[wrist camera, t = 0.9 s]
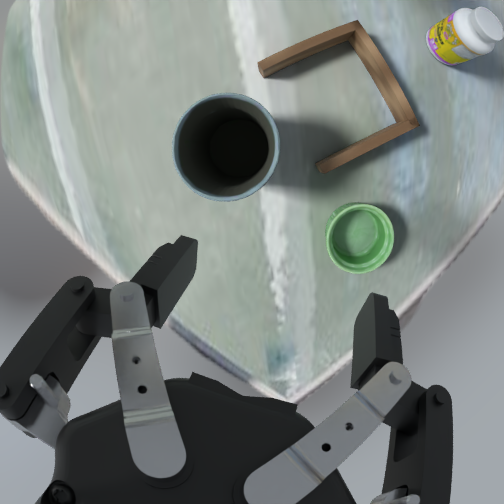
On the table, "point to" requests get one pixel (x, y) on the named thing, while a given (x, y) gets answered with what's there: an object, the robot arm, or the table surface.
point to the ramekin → (359, 237)
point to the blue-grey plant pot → (226, 147)
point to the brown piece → (378, 73)
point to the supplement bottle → (464, 35)
